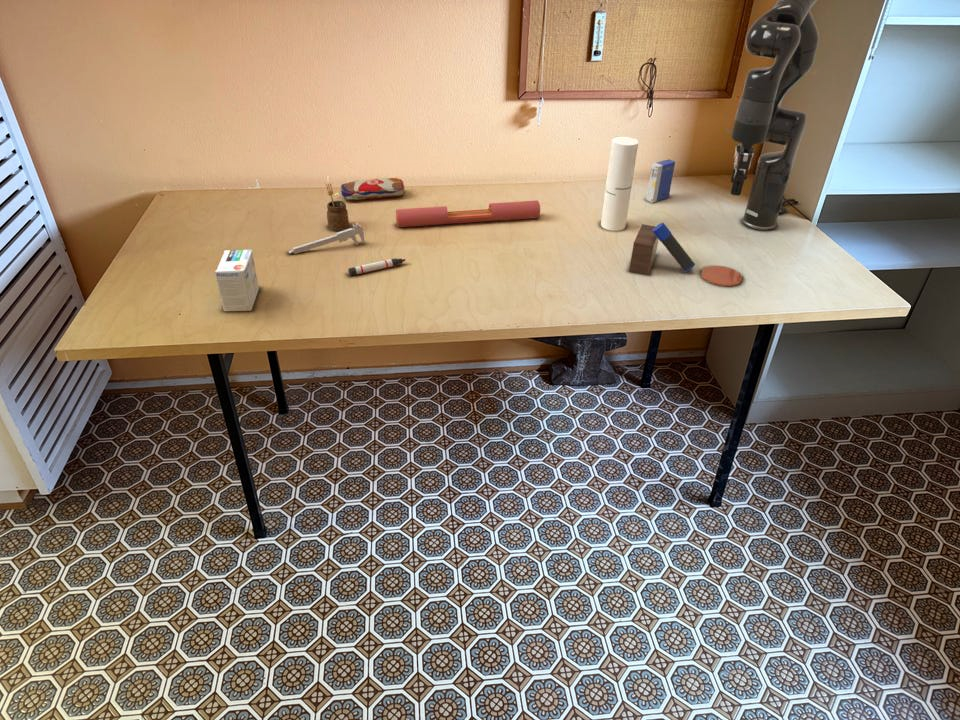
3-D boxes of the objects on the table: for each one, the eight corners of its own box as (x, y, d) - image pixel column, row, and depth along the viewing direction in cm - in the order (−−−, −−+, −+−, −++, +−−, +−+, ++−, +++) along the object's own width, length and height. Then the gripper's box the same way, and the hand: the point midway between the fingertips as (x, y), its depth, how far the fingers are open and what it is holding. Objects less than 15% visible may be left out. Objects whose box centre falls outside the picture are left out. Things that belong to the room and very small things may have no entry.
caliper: (363, 242, 194) (362, 221, 190) (364, 244, 193) (363, 223, 190) (288, 253, 188) (285, 231, 184) (289, 255, 187) (285, 233, 184)
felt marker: (647, 261, 188) (655, 219, 181) (694, 269, 185) (703, 226, 178) (645, 266, 186) (652, 224, 179) (692, 275, 182) (702, 232, 175)
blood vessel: (535, 213, 212) (536, 197, 209) (539, 220, 208) (541, 204, 205) (396, 222, 205) (395, 206, 202) (397, 230, 201) (397, 213, 198)
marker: (351, 277, 178) (350, 270, 177) (348, 273, 180) (347, 266, 178) (407, 264, 184) (406, 258, 183) (404, 261, 186) (403, 254, 184)
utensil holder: (335, 233, 198) (331, 193, 191) (323, 225, 202) (318, 186, 195) (353, 227, 201) (349, 187, 194) (341, 220, 205) (337, 180, 198)
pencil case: (402, 204, 215) (401, 189, 212) (338, 203, 215) (336, 187, 212) (406, 190, 224) (405, 175, 221) (344, 188, 224) (342, 173, 221)
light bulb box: (232, 288, 172) (223, 249, 166) (260, 288, 173) (252, 248, 167) (223, 312, 164) (213, 271, 157) (252, 311, 164) (244, 270, 158)
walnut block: (637, 251, 193) (642, 223, 188) (655, 255, 191) (660, 227, 186) (629, 271, 184) (633, 242, 179) (648, 275, 182) (653, 246, 177)
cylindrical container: (624, 231, 203) (638, 146, 188) (600, 229, 204) (611, 143, 189) (625, 221, 208) (638, 137, 194) (601, 219, 209) (612, 135, 195)
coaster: (703, 264, 187) (704, 262, 187) (742, 271, 185) (743, 269, 184) (699, 281, 180) (699, 279, 179) (739, 289, 177) (740, 287, 177)
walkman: (662, 194, 225) (668, 157, 218) (668, 197, 224) (675, 160, 216) (645, 200, 221) (651, 162, 214) (652, 202, 220) (658, 165, 213)
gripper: (771, 129, 151) (752, 201, 161) (768, 113, 163) (751, 180, 172) (735, 125, 153) (718, 196, 162) (735, 109, 164) (719, 176, 173)
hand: (735, 188), depth 167 cm, fingers open, 8 cm apart
